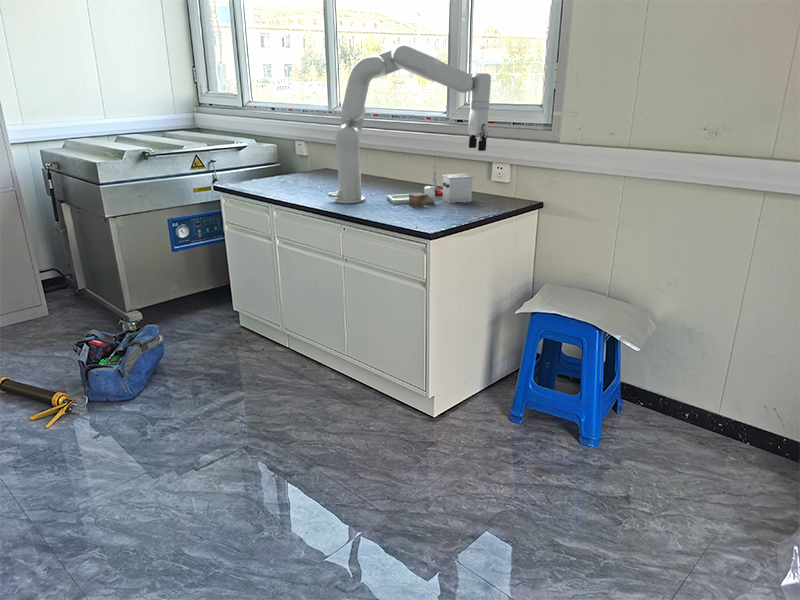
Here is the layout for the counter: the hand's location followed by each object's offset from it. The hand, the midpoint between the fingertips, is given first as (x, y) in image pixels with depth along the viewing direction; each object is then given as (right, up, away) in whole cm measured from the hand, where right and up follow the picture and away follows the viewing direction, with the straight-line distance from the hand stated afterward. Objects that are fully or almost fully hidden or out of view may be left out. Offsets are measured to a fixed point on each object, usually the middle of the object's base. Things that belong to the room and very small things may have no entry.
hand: (477, 149), depth 242 cm
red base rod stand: (-16, -15, +22) cm, 31 cm away
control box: (-8, -21, +5) cm, 23 cm away
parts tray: (-31, -21, +6) cm, 38 cm away
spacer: (-20, -23, 0) cm, 30 cm away
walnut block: (-25, -24, -3) cm, 35 cm away
